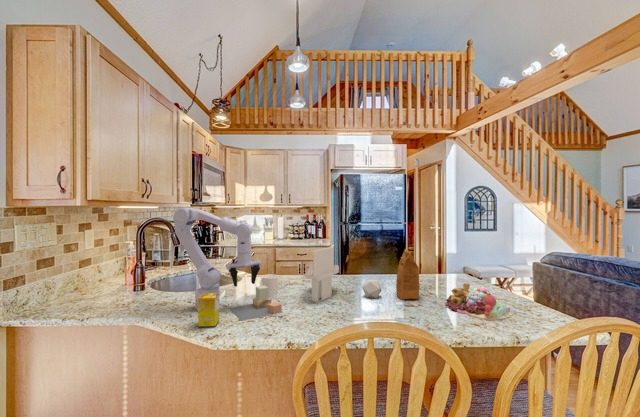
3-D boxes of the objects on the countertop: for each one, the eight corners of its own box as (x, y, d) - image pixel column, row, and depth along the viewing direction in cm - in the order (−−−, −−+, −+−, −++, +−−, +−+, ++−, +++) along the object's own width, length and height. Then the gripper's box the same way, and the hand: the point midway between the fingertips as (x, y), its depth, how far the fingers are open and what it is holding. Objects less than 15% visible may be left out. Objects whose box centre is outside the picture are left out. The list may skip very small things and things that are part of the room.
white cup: (269, 301, 141) (269, 279, 141) (257, 298, 146) (257, 276, 145) (281, 297, 147) (281, 275, 147) (270, 294, 152) (270, 273, 152)
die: (383, 296, 149) (374, 278, 154) (385, 292, 142) (376, 273, 146) (368, 303, 148) (359, 285, 153) (369, 299, 141) (360, 280, 145)
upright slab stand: (303, 287, 164) (303, 243, 163) (343, 288, 162) (343, 243, 162) (294, 304, 136) (294, 251, 136) (343, 306, 134) (343, 251, 134)
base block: (257, 309, 129) (257, 301, 129) (252, 305, 134) (252, 298, 134) (271, 306, 133) (271, 299, 133) (265, 302, 138) (265, 295, 138)
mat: (241, 321, 116) (241, 320, 116) (228, 308, 131) (228, 307, 131) (282, 312, 126) (282, 312, 126) (266, 301, 140) (266, 301, 140)
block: (273, 314, 124) (273, 306, 123) (267, 311, 126) (267, 304, 126) (281, 311, 126) (281, 304, 126) (275, 309, 129) (275, 301, 129)
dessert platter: (435, 307, 133) (435, 286, 133) (461, 297, 148) (461, 277, 148) (499, 325, 114) (499, 300, 114) (521, 310, 129) (521, 288, 129)
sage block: (259, 300, 131) (259, 288, 130) (255, 298, 134) (255, 286, 134) (268, 299, 133) (268, 287, 133) (264, 296, 136) (264, 285, 136)
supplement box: (203, 322, 116) (202, 293, 116) (219, 321, 116) (219, 292, 116) (197, 328, 110) (197, 297, 110) (215, 328, 110) (215, 297, 110)
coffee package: (415, 293, 153) (415, 248, 153) (421, 301, 141) (421, 252, 140) (394, 292, 154) (394, 248, 154) (398, 300, 142) (398, 252, 141)
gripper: (229, 255, 124) (230, 289, 124) (264, 252, 132) (264, 284, 132) (224, 252, 130) (225, 285, 130) (257, 250, 138) (258, 280, 138)
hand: (244, 284), depth 131 cm, fingers open, 7 cm apart
